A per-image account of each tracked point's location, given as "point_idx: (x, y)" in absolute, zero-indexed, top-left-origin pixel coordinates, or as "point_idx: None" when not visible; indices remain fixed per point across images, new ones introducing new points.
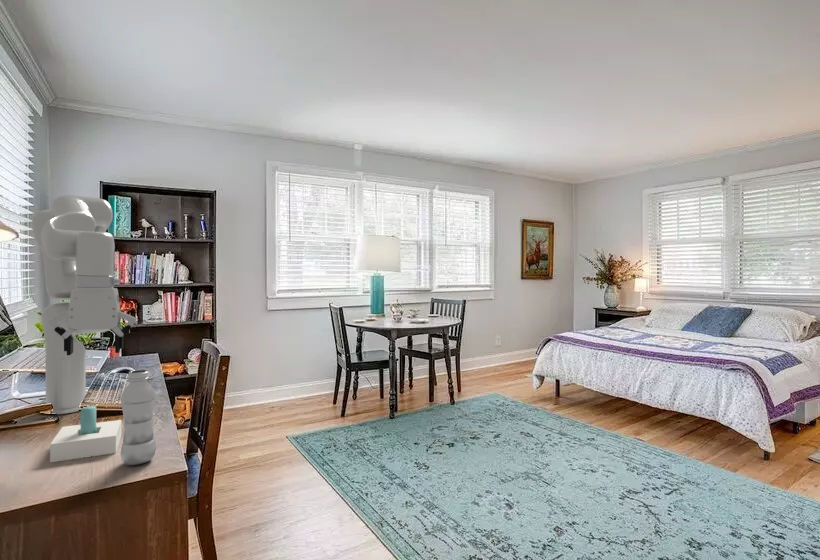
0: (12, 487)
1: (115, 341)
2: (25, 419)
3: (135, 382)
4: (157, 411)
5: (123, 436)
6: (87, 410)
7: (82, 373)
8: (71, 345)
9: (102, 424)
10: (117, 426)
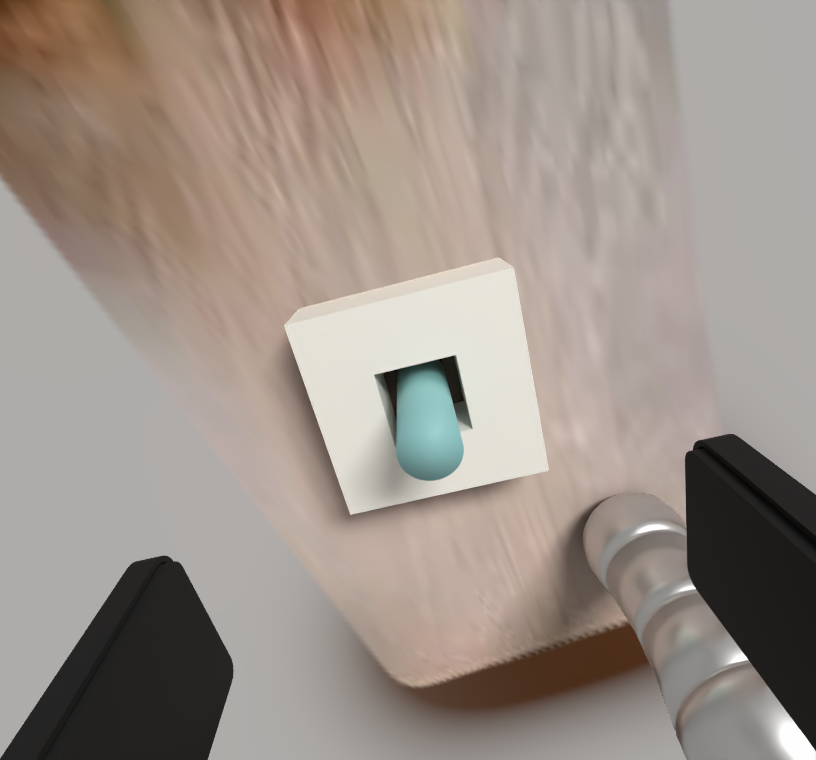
0: (348, 606)
1: (805, 734)
2: None
3: None
4: None
5: (618, 604)
6: (438, 478)
7: None
8: (173, 747)
9: (448, 324)
10: (523, 364)
